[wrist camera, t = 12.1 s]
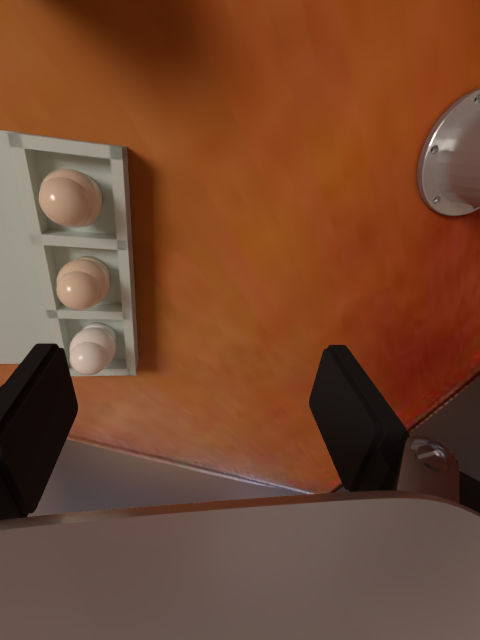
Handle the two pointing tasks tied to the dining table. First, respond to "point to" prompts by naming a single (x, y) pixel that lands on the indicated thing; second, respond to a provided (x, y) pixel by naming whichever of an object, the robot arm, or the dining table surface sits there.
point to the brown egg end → (70, 198)
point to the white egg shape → (92, 348)
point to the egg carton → (62, 249)
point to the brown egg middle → (83, 283)
